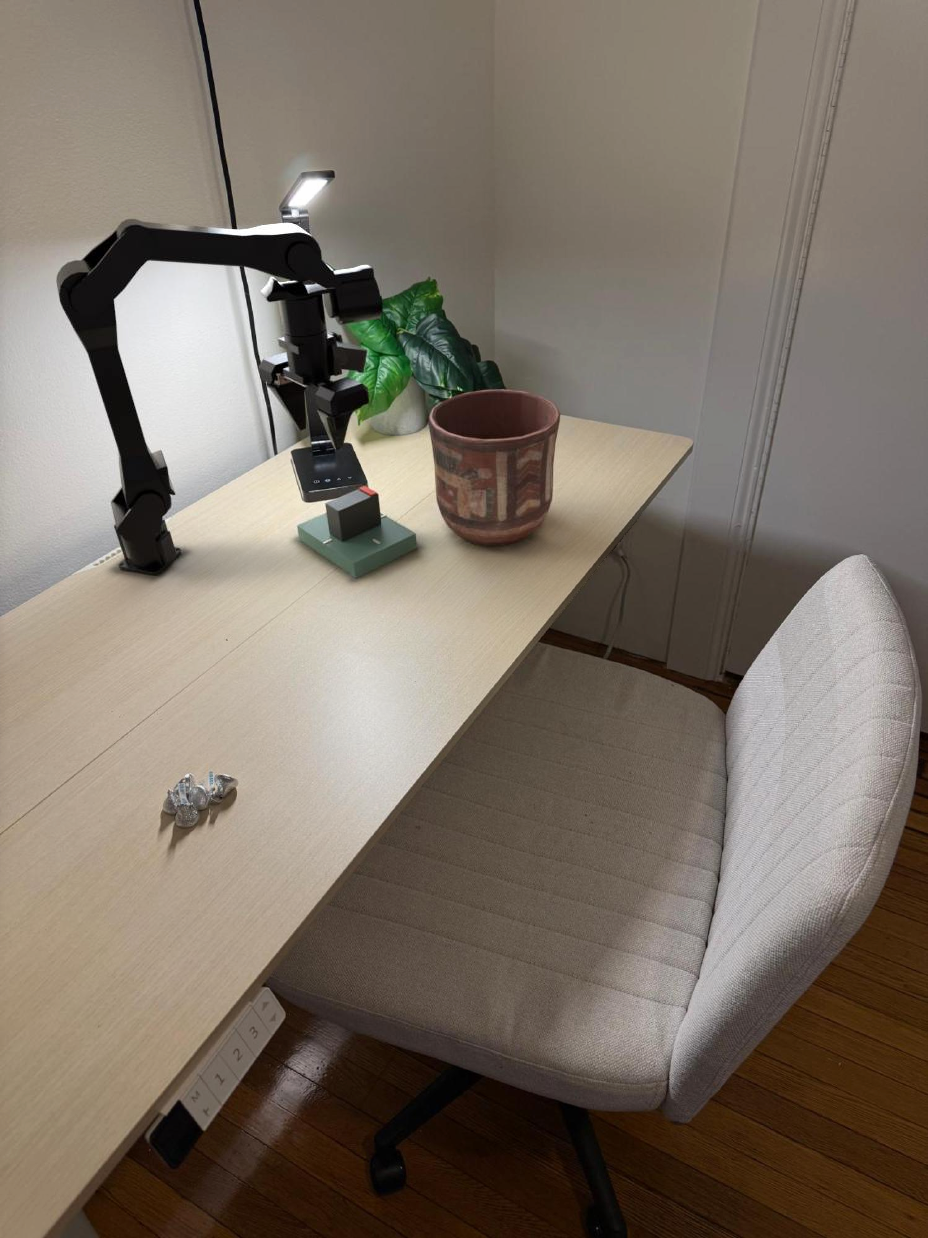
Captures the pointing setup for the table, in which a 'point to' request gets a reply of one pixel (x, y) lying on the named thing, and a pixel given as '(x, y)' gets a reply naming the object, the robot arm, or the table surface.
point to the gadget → (353, 513)
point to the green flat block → (359, 544)
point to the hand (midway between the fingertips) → (320, 438)
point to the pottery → (494, 463)
